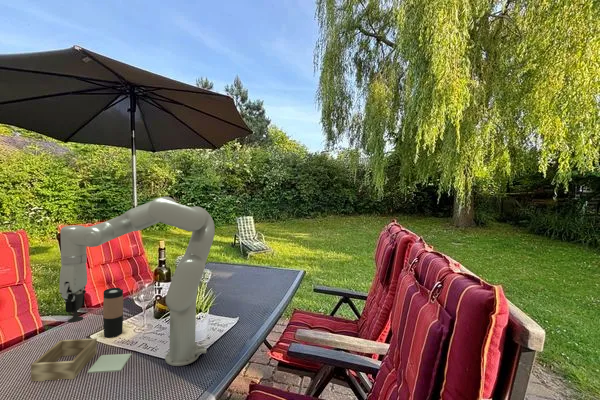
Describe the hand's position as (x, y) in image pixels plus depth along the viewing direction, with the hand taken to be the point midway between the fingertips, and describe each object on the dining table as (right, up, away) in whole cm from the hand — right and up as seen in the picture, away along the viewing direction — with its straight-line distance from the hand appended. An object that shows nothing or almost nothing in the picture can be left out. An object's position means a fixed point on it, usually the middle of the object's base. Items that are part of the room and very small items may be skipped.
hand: (75, 308), depth 116 cm
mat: (+11, -22, +3) cm, 25 cm away
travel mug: (-1, -21, +26) cm, 33 cm away
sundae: (0, -5, 0) cm, 5 cm away
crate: (-4, -22, +1) cm, 22 cm away
